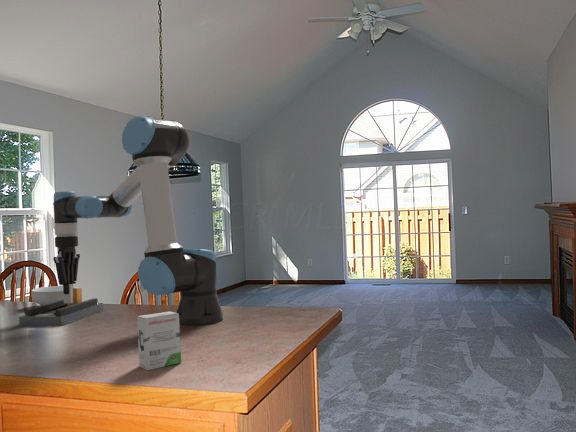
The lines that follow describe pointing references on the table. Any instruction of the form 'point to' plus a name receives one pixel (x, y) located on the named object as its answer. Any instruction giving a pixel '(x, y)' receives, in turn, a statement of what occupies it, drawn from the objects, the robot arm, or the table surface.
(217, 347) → the table surface
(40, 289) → the cereal bowl
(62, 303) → the dark grey edge bar
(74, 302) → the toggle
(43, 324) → the grey slider base
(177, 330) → the ink box
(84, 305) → the long dark grey rail
